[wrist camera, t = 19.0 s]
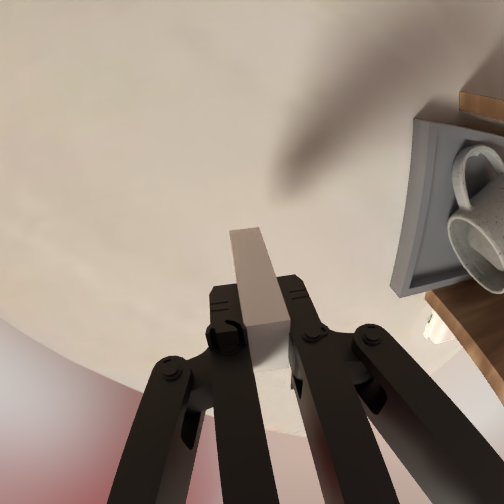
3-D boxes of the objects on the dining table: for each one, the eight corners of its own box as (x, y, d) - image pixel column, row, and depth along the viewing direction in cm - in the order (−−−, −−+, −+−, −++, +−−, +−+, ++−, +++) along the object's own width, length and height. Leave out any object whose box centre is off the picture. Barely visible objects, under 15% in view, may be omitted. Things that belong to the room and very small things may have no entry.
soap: (418, 336, 30) (430, 353, 27) (437, 291, 26) (452, 308, 24) (466, 319, 31) (478, 333, 28) (484, 278, 27) (498, 291, 25)
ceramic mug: (502, 215, 21) (554, 251, 15) (454, 263, 23) (504, 312, 16) (483, 123, 17) (554, 148, 10) (425, 173, 18) (500, 214, 12)
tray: (413, 118, 17) (429, 122, 15) (523, 141, 18) (535, 146, 17) (389, 285, 24) (399, 298, 23) (496, 259, 26) (506, 267, 24)
